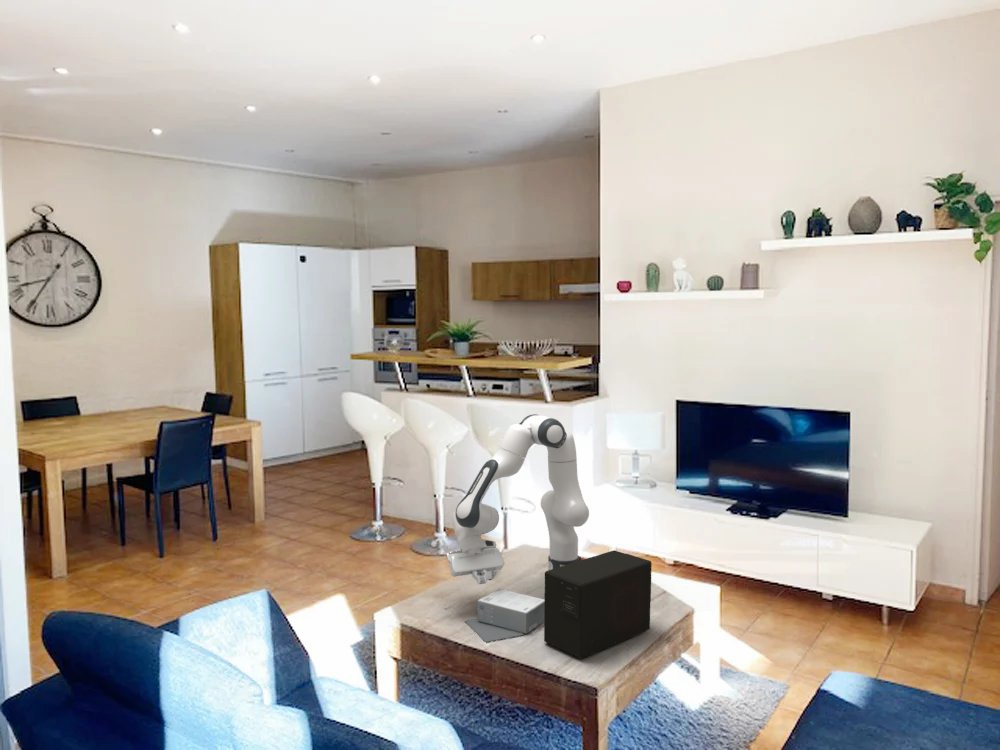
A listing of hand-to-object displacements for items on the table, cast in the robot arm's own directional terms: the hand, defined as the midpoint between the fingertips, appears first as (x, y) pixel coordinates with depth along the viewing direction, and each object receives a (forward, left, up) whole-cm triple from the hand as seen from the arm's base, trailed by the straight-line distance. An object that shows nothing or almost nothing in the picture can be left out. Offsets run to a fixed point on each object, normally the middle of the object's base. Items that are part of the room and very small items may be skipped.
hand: (482, 583), depth 275 cm
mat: (0, +10, -13) cm, 16 cm away
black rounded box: (-29, +30, -13) cm, 44 cm away
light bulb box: (-19, -41, -13) cm, 47 cm away
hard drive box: (-3, -1, -9) cm, 9 cm away
